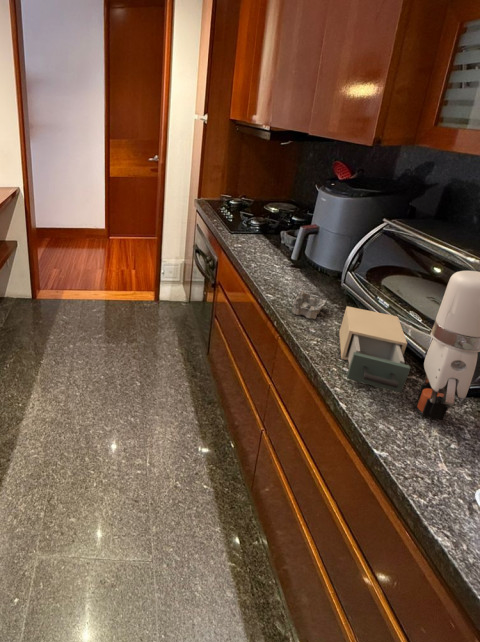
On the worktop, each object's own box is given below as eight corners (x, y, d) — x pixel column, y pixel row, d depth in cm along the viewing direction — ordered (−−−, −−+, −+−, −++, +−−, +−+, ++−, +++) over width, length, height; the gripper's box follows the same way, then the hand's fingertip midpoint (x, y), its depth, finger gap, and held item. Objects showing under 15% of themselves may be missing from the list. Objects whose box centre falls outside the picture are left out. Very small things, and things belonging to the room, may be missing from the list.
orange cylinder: (436, 405, 81) (442, 390, 80) (445, 419, 78) (451, 403, 76) (413, 401, 83) (419, 386, 81) (421, 414, 79) (427, 399, 78)
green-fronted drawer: (404, 406, 81) (414, 380, 78) (347, 389, 86) (355, 365, 83) (392, 361, 95) (400, 338, 92) (344, 349, 99) (350, 327, 96)
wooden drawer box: (396, 372, 92) (407, 343, 89) (341, 358, 97) (349, 330, 94) (388, 343, 103) (397, 316, 100) (339, 332, 108) (346, 306, 105)
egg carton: (300, 300, 125) (302, 289, 123) (325, 308, 120) (328, 297, 118) (287, 312, 118) (290, 300, 116) (314, 321, 113) (317, 309, 111)
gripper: (501, 365, 65) (465, 446, 72) (470, 318, 79) (442, 390, 85) (444, 353, 68) (414, 431, 75) (423, 310, 82) (400, 380, 89)
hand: (429, 408), depth 80 cm, fingers closed on orange cylinder, 4 cm apart
